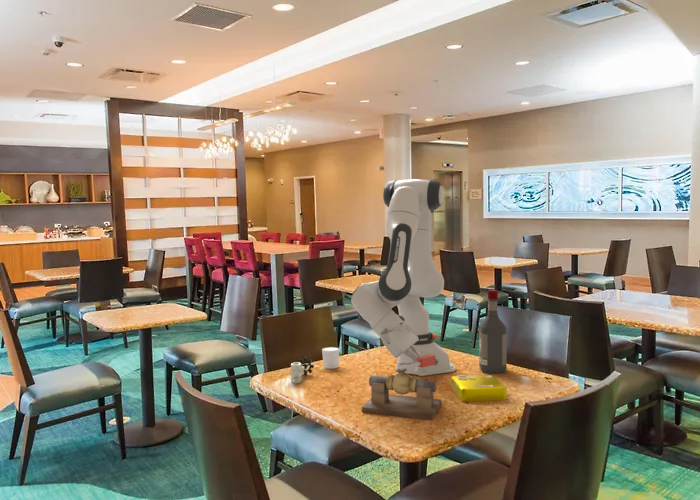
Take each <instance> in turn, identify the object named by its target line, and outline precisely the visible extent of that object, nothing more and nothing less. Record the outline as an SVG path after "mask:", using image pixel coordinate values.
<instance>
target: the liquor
mask: <svg viewBox="0 0 700 500" xmlns="http://www.w3.org/2000/svg"><path fill="white" fill-rule="evenodd" d="M498 292H499V291H498V290H497V289H488V290H487V300H488V305H487V308H488V309H487V316H486V317H485V318H484V319H483V320H482V321H481V322H480V323H479V326H478V329H479V330H478V331H479V332H478V336H479V337H478V344H479V345H478V347H479V349H478V357H479V358H478V359H479V361H478V362H479V363H478V364H479V365H478V366H479V369H480V370H481V372H482V373H486V374H503V373H506V371H507V349H508V348H507V345H508V343H507V339H508V338H507V333H508V332H507V330H508V329H507V327H506V325H505V324H504V322H503V321H502V320H501V319H500V317H499V313H498V299H499V297H498V296H499V293H498Z"/></svg>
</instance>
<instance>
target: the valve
mask: <svg viewBox="0 0 700 500" xmlns="http://www.w3.org/2000/svg"><path fill="white" fill-rule="evenodd" d="M304 362H305V363H304ZM312 362H313V359H309V360H308V357H306V356H304V357H303V359H302V358H299V359H298V361H297V362H293V363H292V362H291V364H290V373H289V374H290V383H292V384H300V383H302V380H303V378H302V377H303V376H302V375H304V376H306V375H308V374H312V373H313V370H312V369H314V367H315V365H314V364H312Z"/></svg>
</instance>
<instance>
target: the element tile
mask: <svg viewBox="0 0 700 500" xmlns="http://www.w3.org/2000/svg"><path fill="white" fill-rule="evenodd" d="M450 381H451V382H450V389H451V391H452V392H453V393H454V394H455V395H456V397H457V398H458V399H459V400H460V401H462V402H465V403H466V402H489V401H491V402H492V401H494V402H495V401H506V400H507V398H508V396H507V395H508V387H507V385H505V384H504V383H503V382H502V381H501V380H499V379H498V378H497V376H494V375H492V374H477V375H476V374H475V375H473V374H472V375H471V374H470V375H464V374H462V375H453V376H451V379H450Z"/></svg>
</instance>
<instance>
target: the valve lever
mask: <svg viewBox="0 0 700 500" xmlns="http://www.w3.org/2000/svg"><path fill="white" fill-rule="evenodd" d="M416 359H417V361H414V362H410V363H398V364H397V363H396V365H397V370H396V371H397V372H399V371H401V372H403V371H407V368H411V367H415V366H418V367H421V368H423V367H427V366H431V365H435V355H431V354H428V355H424V356H420V357H416Z"/></svg>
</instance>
